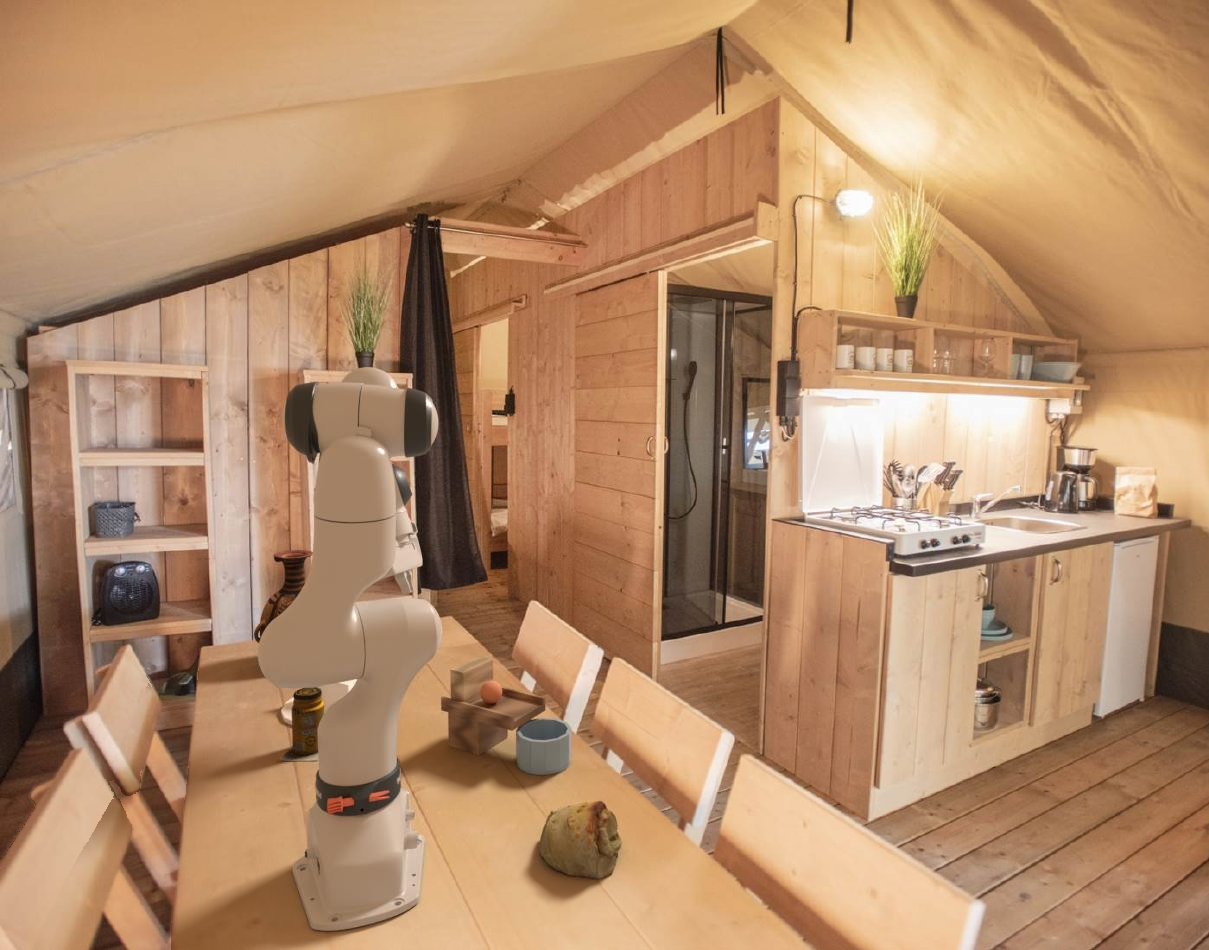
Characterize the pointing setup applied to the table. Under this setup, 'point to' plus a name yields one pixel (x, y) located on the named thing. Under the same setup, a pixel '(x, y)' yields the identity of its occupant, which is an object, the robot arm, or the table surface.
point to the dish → (329, 697)
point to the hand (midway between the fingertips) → (408, 593)
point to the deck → (489, 719)
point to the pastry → (581, 840)
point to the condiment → (305, 724)
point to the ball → (491, 692)
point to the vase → (284, 587)
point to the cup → (543, 746)
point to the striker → (470, 679)
